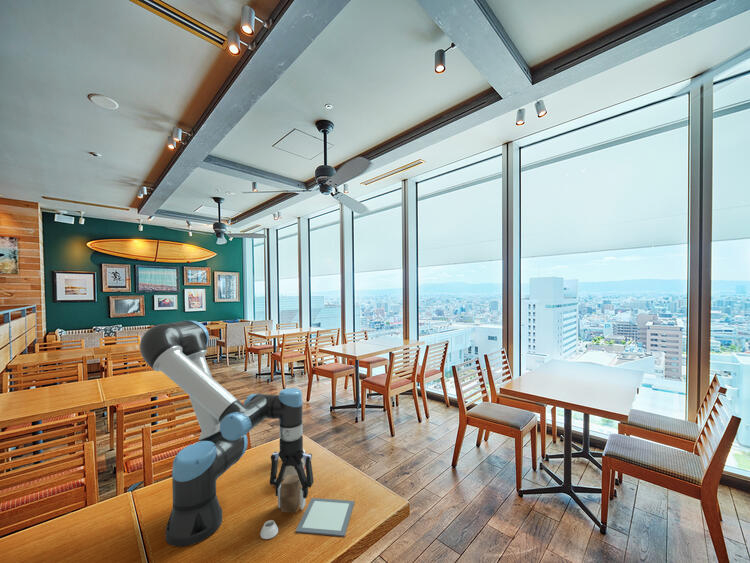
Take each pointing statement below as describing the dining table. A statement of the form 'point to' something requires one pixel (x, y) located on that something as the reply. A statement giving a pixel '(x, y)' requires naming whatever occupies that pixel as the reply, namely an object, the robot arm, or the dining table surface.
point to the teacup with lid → (293, 469)
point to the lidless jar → (269, 530)
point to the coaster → (326, 517)
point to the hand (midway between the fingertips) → (291, 506)
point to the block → (290, 493)
